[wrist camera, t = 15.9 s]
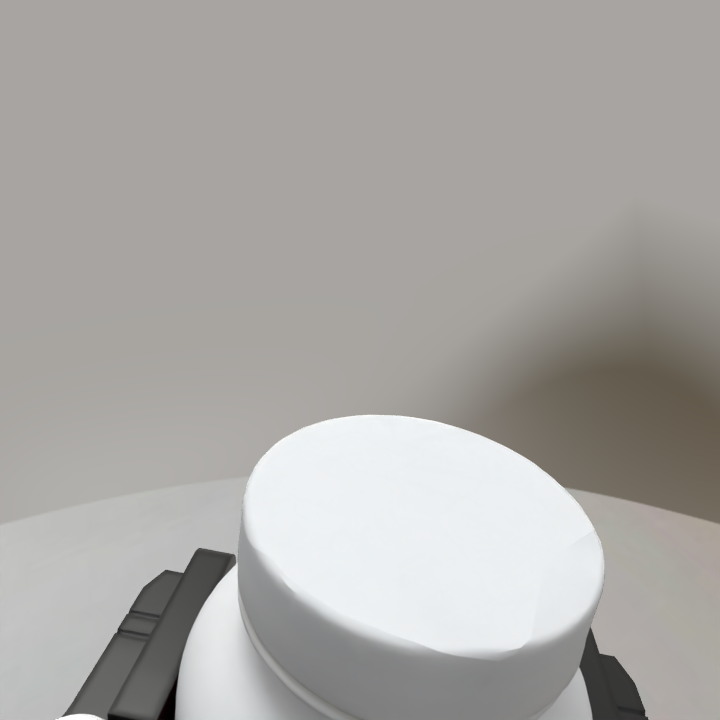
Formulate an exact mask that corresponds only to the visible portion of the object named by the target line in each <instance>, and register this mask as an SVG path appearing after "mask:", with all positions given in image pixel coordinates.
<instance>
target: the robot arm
mask: <svg viewBox="0 0 720 720" xmlns="http://www.w3.org/2000/svg"><path fill="white" fill-rule="evenodd" d="M235 565H236V557H235V555H234V554H229V553H224V552H218V551H213V550H208V549H202V548H199V549H197V550H196V552H195V553H194V555H193V557H192V559H191V561H190V563H189V564H188V566H187V568H186V570H185V572H184V573H179V572H174V571H169V570H165V571H164V572H162V573H161V574H160V575H158V576H157V577H156V578H155V579H153V580H152V581H151V582H150V583H148V584H147V585H146V586H144V587H143V589H142V591H141V592H140V594H139V595H138V597H137V599H136V600H135V602H134V604H133V605H132V607H131V608H130V611H129V614H127V615H126V617H125V618H124V620H123V621H122V623H121V625H120V626H119V628H118V632H117V633H115V634H114V636H113V638H112V639H111V641H110V643H109V644H108V646H107V647H106V649H105V651H104V652H103V654H102V655H101V657H100V659H99V660H98V662H97V664H96V665H95V667H94V668H93V670H92V672H91V673H90V675H89V677H88V678H87V680H86V681H85V683H84V685H83V686H82V688H81V690H80V691H79V693H78V694H77V696H76V698H75V699H74V701H73V703H72V704H71V706H70V707H69V708H68V710H67V711H66V713H65V714H64V715H63V716H62V717H61V718H59V719H57V720H175V709H176V693H177V684H178V676H179V669H180V665H181V660H182V656H183V652H184V649H185V646H186V642H187V639H188V636H189V634H190V632H191V629H192V627H193V624H194V622H195V620H196V618H197V616H198V614H199V612H200V610H201V609H202V607H203V605H204V603H205V602H206V600H207V598H208V597H209V596H210V594H211V593H212V592H213V590H214V589H215V587H216V586H217V584H218V583H219V582H220V581H221V580H222V579H223V577H224V576H225V575H226V574H227V573H228V572H229V571H230V570H231V569H232V568H233V567H234V566H235ZM579 668H580V670H581V672H582V675H583V678H584V681H585V685H586V689H587V693H588V698H589V702H590V706H591V711H592V718H593V720H648V717H645V709H644V707H643V704H642V701H641V699H640V696H639V693H638V691H637V688H636V685H635V683H634V681H633V680H632V679H631V678H630V676H629V675H628V674H627V672H626V671H625V670H624V668H623V667H622V666H621V664H620V663H619V662H618V660H617V659H616V658H615V657H614V656H609V655H603V654H599V651H598V648H597V645H596V642H595V638H594V635H593V632H592V630H591V627H590V629H589V632H588V635H587V638H586V642H585V647H584V651H583V655H582V658H581V662H580V666H579Z"/></svg>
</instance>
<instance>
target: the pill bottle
mask: <svg viewBox="0 0 720 720" xmlns="http://www.w3.org/2000/svg"><path fill="white" fill-rule="evenodd" d="M604 580H605V564H604V553H603V549H602V546H601V543H600V540H599V537H598V535H597V533H596V531H595V529H594V527H593V525H592V523H591V522H590V520H589V518H588V516H587V515H586V513H585V512H584V510H583V509H582V508H581V506H580V505H579V504H578V503H577V501H576V500H575V499H574V498H573V497H572V496H571V495H570V494H569V493H568V492H567V491H566V490H565V489H564V488H563V487H562V486H561V485H560V484H559V483H558V482H556V481H555V480H554V479H553V478H552V477H551V476H549V475H548V474H547V473H546V472H544V471H543V470H541V469H540V468H539V467H538V466H536V465H535V464H534V463H533V462H531V461H529V460H528V459H526V458H524V457H523V456H521V455H519V454H518V453H516V452H514V451H512V450H511V449H509V448H507V447H505V446H503V445H501V444H498V443H496V442H494V441H492V440H489V439H487V438H485V437H483V436H480V435H478V434H475V433H472V432H469V431H466V430H463V429H461V428H457V427H454V426H451V425H447V424H443V423H440V422H436V421H430V420H425V419H419V418H413V417H405V416H388V415H360V416H350V417H343V418H337V419H331V420H326V421H323V422H319V423H317V424H314V425H310V426H307V427H304V428H302V429H300V430H298V431H296V432H294V433H292V434H290V435H289V436H287V437H285V438H283V439H282V440H280V441H279V442H278V443H276V444H275V445H274V446H273V447H272V448H271V449H270V450H269V451H268V452H267V453H266V454H265V455H264V456H263V457H262V458H261V459H260V460H259V461H258V463H257V465H256V467H255V468H254V469H253V471H252V473H251V476H250V478H249V481H248V483H247V486H246V489H245V493H244V498H243V503H242V515H241V527H240V535H239V543H238V563H237V564H236V565H235V566H234V567H233V568H232V569H231V570H230V571H229V572H228V573H227V574H226V575H225V576H224V577H223V579H222V580H221V581H220V582H219V583H218V584H217V586H216V587H215V589H214V590H213V592H212V593H211V594H210V596H209V597H208V598H207V600H206V602H205V603H204V605H203V607H202V609H201V610H200V612H199V614H198V616H197V618H196V620H195V622H194V624H193V627H192V629H191V632H190V634H189V636H188V639H187V642H186V646H185V649H184V652H183V656H182V660H181V665H180V669H179V676H178V684H177V693H176V709H175V720H593V718H592V711H591V706H590V702H589V698H588V693H587V689H586V685H585V681H584V678H583V675H582V672H581V670H580V668H579V666H580V662H581V658H582V655H583V651H584V647H585V642H586V638H587V635H588V632H589V629H590V626H591V623H592V620H593V618H594V615H595V612H596V609H597V606H598V603H599V600H600V598H601V595H602V592H603V586H604Z"/></svg>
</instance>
